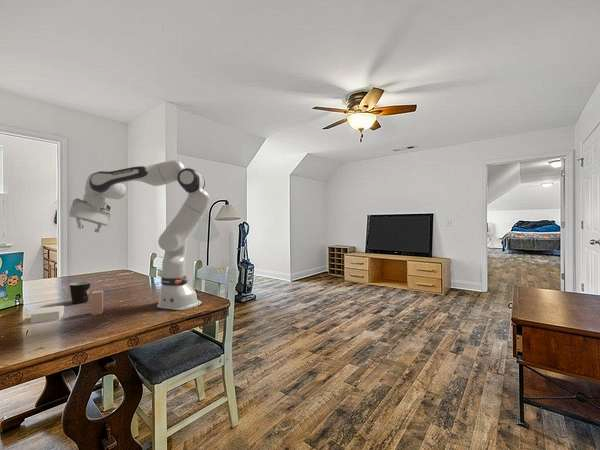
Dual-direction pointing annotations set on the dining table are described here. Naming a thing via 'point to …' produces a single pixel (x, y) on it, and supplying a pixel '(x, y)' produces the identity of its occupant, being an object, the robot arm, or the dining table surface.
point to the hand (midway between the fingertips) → (88, 230)
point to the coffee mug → (80, 292)
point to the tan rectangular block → (97, 302)
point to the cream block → (47, 314)
